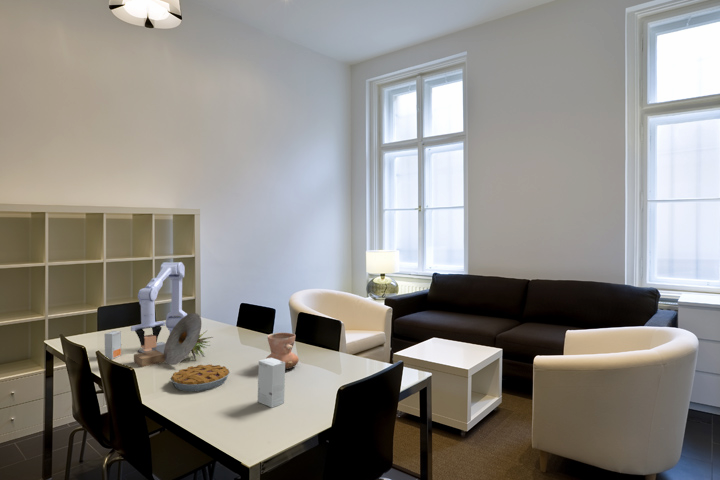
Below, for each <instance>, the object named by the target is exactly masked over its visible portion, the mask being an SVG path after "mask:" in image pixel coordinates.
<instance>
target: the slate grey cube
mask: <svg viewBox="0 0 720 480" xmlns="http://www.w3.org/2000/svg"><path fill="white" fill-rule="evenodd" d="M165 345H166V343H165V342H163V341H159V342H157V343H156V346H157V347H154V348H152V351H154V350H157V351H159V352H161V353H163V354H164V349H165Z"/></svg>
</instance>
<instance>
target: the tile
mask: <svg viewBox="0 0 720 480" xmlns="http://www.w3.org/2000/svg"><path fill="white" fill-rule="evenodd" d="M149 351H152V348H149V349H144V348H141V349H138V350H137V352H138V353H144V352H149Z"/></svg>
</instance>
